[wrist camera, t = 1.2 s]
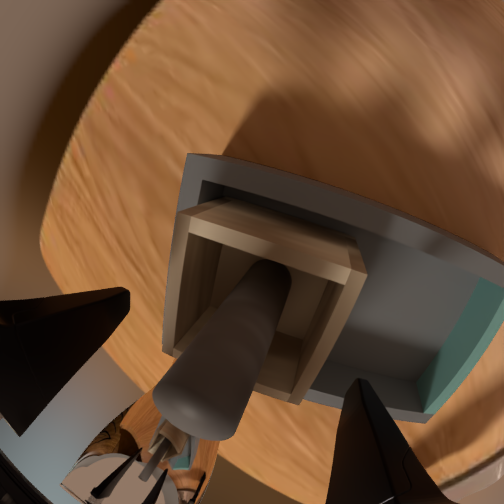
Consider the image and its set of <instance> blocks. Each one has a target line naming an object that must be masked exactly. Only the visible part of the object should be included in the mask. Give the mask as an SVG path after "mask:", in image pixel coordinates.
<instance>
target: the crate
mask: <svg viewBox="0 0 504 504" xmlns="http://www.w3.org/2000/svg"><path fill="white" fill-rule="evenodd" d="M367 275H368V274H367V271H366V268H365V265H364V262H363V259H362V256H361V253H360V250H359V247H358V244H357V241H356V239H355V237H353V236H350V235H347V234H344V233H342V232H339V231H336V230H333V229H330V228H327V227H324V226H321V225H318V224H315V223H312V222H309V221H306V220H303V219H300V218H297V217H293V216H290V215H287V214H284V213H281V212H278V211H274V210H271V209H268V208H265V207H261V206H258V205H255V204H251V203H248V202H245V201H241V200H238V199H234V198H231V197H227V196H225V197H221V198H218V199H215V200H212V201H209V202H206V203H203V204H200V205H196V206H193V207H190V208H187V209H184V210H181V211H179V212H177V216H176V222H175V228H174V235H173V242H172V250H171V257H170V265H169V274H168V283H167V293H166V303H165V315H164V329H163V345H162V352H164V353H166V354H168V355H170V356H172V357H174V358H176V359H177V360H176V361H175V363H174V364H173V365H172V366H171V368H170V369H169V370H168V371H167V373H166V374H165V375H164V376H163V378H162V379H161V380H160V381H159V383H158V384H157V385H156V386H155V388H154V389H153V392H152V398H153V401H154V404H155V406H156V407H157V409H158V410H159V412H160V413H161V414H162V415H163V416H164V417H165V418H166V419H167V420H168V421H169V422H170V423H171V424H173V425H174V426H175V427H177V428H178V429H180V430H182V431H184V432H186V433H188V434H190V435H192V436H195V437H198V438H201V439H205V440H211V441H222V440H226V439H229V438H230V437H232V436H233V435H234V433H235V432H236V429H237V427H238V425H239V422H240V420H241V418H242V415H243V413H244V410H245V408H246V406H247V403H248V401H249V398H250V396H251V393H252V391H256V392H259V393H261V394H264V395H267V396H270V397H273V398H276V399H280V400H283V401H286V402H289V403H293V404H296V405H299V404H300V403H301V401H302V399H303V398H304V396H305V395H306V393H307V391H308V390H309V388H310V386H311V385H312V383H313V382H314V380H315V378H316V376H317V375H318V373H319V371H320V370H321V368H322V366H323V364H324V363H325V361H326V359H327V357H328V355H329V354H330V352H331V350H332V348H333V346H334V344H335V342H336V340H337V339H338V337H339V335H340V333H341V331H342V329H343V327H344V325H345V323H346V321H347V319H348V317H349V315H350V313H351V311H352V308H353V306H354V304H355V302H356V300H357V298H358V296H359V293H360V291H361V289H362V287H363V284H364V282H365V280H366V278H367Z"/></svg>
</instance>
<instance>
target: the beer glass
mask: <svg viewBox="0 0 504 504" xmlns="http://www.w3.org/2000/svg"><path fill="white" fill-rule="evenodd" d="M176 360H177V359H176V358H175V359H174V361H173V363H172V365H173V364H174V363H175V361H176ZM172 365H171V366H172ZM170 368H171V367H170ZM155 386H156V385H155ZM155 386H154V387H153V388H152V389H151V390H149V391H148V392H147V393H146V394H144V395H143V396H142V397H140V398H139V399H138V400H137V401H135V402H134V403H133V404H132V405H130V406H129V407H128V408H126V409H125V410H124V411H123V412H121V413H120V414H119V415H118V416H117V417H116V418H114V419H113V420H112V421H111V422H110V423H109V424H107V426H105V428H104V429H103V430H102V431H101V432H100V433H99V434H98V435H97V436H96V437H95V438H94V439H93V441H92V442H91V443H90V444H89V445H88V447H87V448H86V449H85V451H84V452H83V453H82V454H81V456H80V457H79V459H78V460H77V462H76V463H75V464H74V466H73V467H72V469H71V470H70V472H69V473H68V475H67V476H66V477H65V479H64V480H63V482H62V483H61V484H60V486H61V487H62V488H63V489H64V490H65V491H66V492H68V493H69V494H70V495H71V496H73V497H74V498H75V499H76V500H78V501H79V502H80V503H82V504H200V502H201V500H202V497H203V495H204V493H205V491H206V489H207V486H208V484H209V481H210V478H211V474H212V471H213V468H214V464H215V460H216V456H217V452H218V448H219V443H220V441H211V440H205V439H201V438H198V437H195V436H192V435H190V434H188V433H186V432H184V431H182V430H180V429H178V428H177V427H175V426H174V425H173V424H171V423H170V422H169V421H168V420H167V419H166V418H165V417H164V416H163V415H162V414H161V413H160V412H159V410H158V409H157V407H156V406H155V404H154V401H153V398H152V392H153V389H154V388H155Z"/></svg>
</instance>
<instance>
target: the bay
mask: <svg viewBox="0 0 504 504" xmlns="http://www.w3.org/2000/svg"><path fill="white" fill-rule="evenodd" d="M225 196H227V197H231V198H234V199H238V200H241V201H245V202H248V203H251V204H255V205H258V206H261V207H265V208H268V209H271V210H274V211H278V212H281V213H284V214H287V215H290V216H293V217H297V218H300V219H303V220H306V221H309V222H312V223H315V224H318V225H321V226H324V227H327V228H330V229H333V230H336V231H339V232H342V233H344V234H347V235H350V236H353V237H355V239H356V241H357V244H358V247H359V250H360V253H361V256H362V259H363V262H364V265H365V268H366V271H367V274H368V275H367V278H366V280H365V282H364V284H363V287H362V289H361V291H360V293H359V296H358V298H357V300H356V302H355V304H354V306H353V308H352V311H351V313H350V315H349V317H348V319H347V321H346V323H345V325H344V327H343V329H342V331H341V333H340V335H339V337H338V339H337V340H336V342H335V344H334V346H333V348H332V350H331V352H330V354H329V355H328V357H327V359H326V361H325V363H324V364H323V366H322V368H321V370H320V371H319V373H318V375H317V376H316V378H315V380H314V382H313V383H312V385H311V386H310V388H309V390H308V391H307V393H306V395H305V396H304V398H303V399H304V400H308V401H312V402H315V403H319V404H323V405H326V406H330V407H334V408H339V409H342V406H343V401H344V397H345V394H346V392H347V390H348V389H349V388H350V386H351V385H352V383H353V382H354V380H355V379H356V378H358V377H359V378H363V379H367V380H368V381H369V383H370V384H371V386H372V387H373V389H374V390H375V392H376V393H377V395H378V396H379V398H380V400H381V401H382V403H383V404H384V406H385V407H386V409H387V411H388V412H389V414H390V415H391V417H392V418H393V419H394V420H401V421H408V422H416V423H426V422H427V421H428V420H429V419H430V418H431V417H432V416H433V415H434V414H435V413H436V412H437V411H438V410H439V409H440V408H441V407H442V406H443V404H444V403H445V402H446V401H447V400H448V399H449V398H450V397H451V395H452V394H453V393H454V392H455V391H456V389H457V388H458V387H459V386H460V385H461V383H462V382H463V381H464V379H465V378H466V377H467V376H468V374H469V373H470V372H471V370H472V369H473V368H474V366H475V365H476V363H477V362H478V361H479V359H480V358H481V356H482V355H483V353H484V352H485V350H486V349H487V347H488V346H489V344H490V343H491V341H492V340H493V338H494V336H495V335H496V333H497V331H498V330H499V328H500V326H501V324H502V323H503V321H504V262H503V261H501V260H500V259H499V258H497V257H496V256H494V255H493V254H491V253H489V252H487V251H486V250H484V249H482V248H480V247H478V246H476V245H474V244H472V243H470V242H468V241H466V240H464V239H462V238H460V237H458V236H456V235H454V234H452V233H450V232H448V231H445V230H443V229H441V228H439V227H437V226H435V225H432V224H430V223H428V222H426V221H423V220H421V219H419V218H416V217H414V216H412V215H409V214H407V213H404V212H402V211H399V210H397V209H394V208H392V207H389V206H387V205H384V204H382V203H379V202H376V201H374V200H371V199H368V198H366V197H363V196H360V195H357V194H355V193H352V192H349V191H346V190H343V189H340V188H337V187H334V186H331V185H328V184H325V183H322V182H319V181H316V180H312V179H309V178H306V177H303V176H299V175H296V174H293V173H289V172H286V171H282V170H279V169H275V168H271V167H268V166H264V165H260V164H256V163H252V162H248V161H244V160H240V159H236V158H232V157H227V156H223V155H213V154H196V153H187V157H186V162H185V167H184V172H183V177H182V182H181V188H180V193H179V199H178V205H177V211H176V216H177V212H179V211H181V210H184V209H187V208H190V207H193V206H196V205H200V204H203V203H206V202H209V201H212V200H215V199H218V198H221V197H225ZM175 222H176V217H175ZM174 228H175V223H174ZM173 235H174V230H173ZM172 242H173V237H172ZM171 250H172V244H171ZM170 257H171V252H170ZM169 265H170V260H169ZM168 274H169V268H168ZM167 283H168V277H167ZM166 293H167V286H166ZM165 303H166V296H165ZM164 315H165V307H164ZM163 329H164V320H163ZM162 344H163V335H162Z"/></svg>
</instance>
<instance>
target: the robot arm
mask: <svg viewBox="0 0 504 504" xmlns="http://www.w3.org/2000/svg"><path fill="white" fill-rule="evenodd" d="M129 310H130V291H129V290H127V289H125V288H123V287H115V288H108V289H101V290H94V291H87V292H79V293H72V294H65V295H58V296H50V297H46V298H44V297H43V298H34V299H25V300H7V301H6V300H5V301H0V420H1V419H2V418H4V419H5V421H6V422H7V423H8V424H9V425H10V427H11V428H12V429H13V430H14V432H15V433H16V434H17V435H18V436H19V437H20V436H21V435H22V434H23V433H24V432H25V431H26V430H27V428H28V427H29V426H30V425H31V424H32V422H33V421H34V420H35V419H36V418H37V416H38V415H39V414H40V413H41V412H42V411H43V409H44V408H45V407H46V406H47V404H49V402H50V401H51V400H52V399H53V398H54V397H55V395H57V393H58V392H59V391H60V390H61V389H62V388H63V387H64V385H65V384H66V383H67V382H68V381H69V380H70V379H71V378H72V377H73V376H74V375H75V373H76V372H77V371H78V370H79V369H80V368H81V367H82V366H83V365H84V364H85V363H86V361H88V359H89V358H90V357H91V356H92V355H93V354H94V353H95V352H96V351H97V350H98V349H99V348H100V347H101V346H102V345H103V344H104V343H105V342H106V340H107V339H108V338H109V337H110V336H111V335H112V333H113V332H114V331H115V329H116V328H117V327H118V325H119V324H120V323H121V322H122V320H123V319H124V318H125V317H126V315H127V314H128V312H129ZM0 504H53V503H52V502H51V501H50V500H48V499H47V498H46V497H45V496H44V495H43V494H42V493H41V492H40V491H39V490H37V488H35V487H34V486H33V485H32V484H31V483H30V482H29V481H28V480H27V479H26V478H25V476H24V475H23V474H22V473H21V472H20V471H19V470H18V469H17V468H16V467H15V466H14V464H13V463H12V462H11V461H10V460H9V459H8V457H7V456H6V455H5V454H4V453H3V451H2V450H1V449H0ZM325 504H458V503H455V502H453V501H451V500H449V499H448V498H447V497H446V496H445V495H444V494H443V493H442V492H441V490H440V489H439V488H438V486H437V485H436V484H435V482H434V481H433V480H432V478H431V477H430V476H429V474H428V473H427V472H426V470H425V469H424V468H423V466H422V465H421V463H420V462H419V460H418V459H417V457H416V455H415V454H414V452H413V451H412V449H411V447H409V444H408V443H407V441H406V439H405V438H404V436H403V434H402V433H401V431H400V430H399V428H398V426H397V425H396V423H395V422H394V420H393V418H392V417H391V415H390V414H389V412H388V411H387V409H386V407H385V406H384V404H383V403H382V401H381V400H380V398H379V396H378V395H377V393H376V392H375V390H374V389H373V387H372V386H371V384H370V383H369V381H368V380H367V379H363V378H359V377H358V378H356V379H355V380H354V382H353V383H352V385H351V386H350V388H349V389H348V390H347V392H346V394H345V397H344V401H343V406H342V411H341V415H340V420H339V424H338V429H337V434H336V442H335V450H334V457H333V464H332V470H331V477H330V482H329V488H328V493H327V499H326V503H325Z"/></svg>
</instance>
